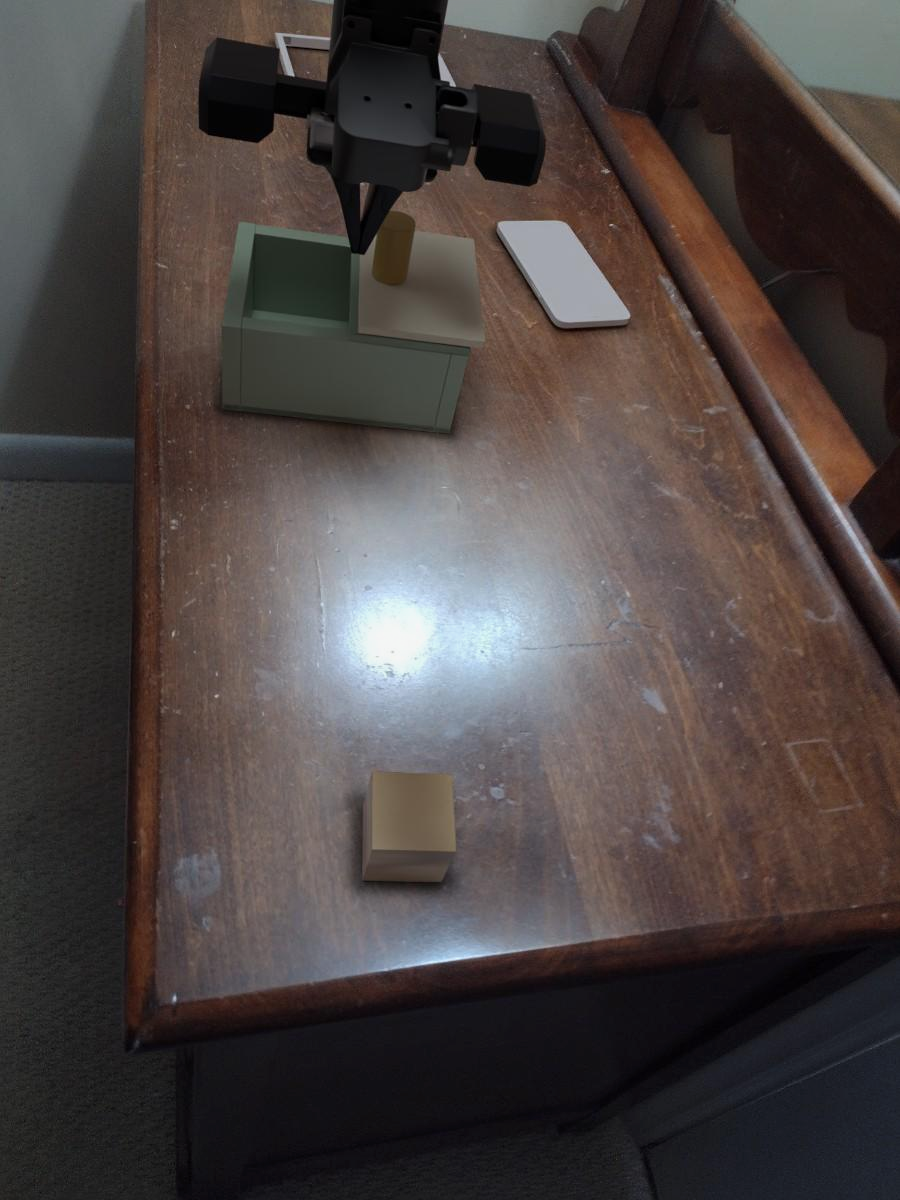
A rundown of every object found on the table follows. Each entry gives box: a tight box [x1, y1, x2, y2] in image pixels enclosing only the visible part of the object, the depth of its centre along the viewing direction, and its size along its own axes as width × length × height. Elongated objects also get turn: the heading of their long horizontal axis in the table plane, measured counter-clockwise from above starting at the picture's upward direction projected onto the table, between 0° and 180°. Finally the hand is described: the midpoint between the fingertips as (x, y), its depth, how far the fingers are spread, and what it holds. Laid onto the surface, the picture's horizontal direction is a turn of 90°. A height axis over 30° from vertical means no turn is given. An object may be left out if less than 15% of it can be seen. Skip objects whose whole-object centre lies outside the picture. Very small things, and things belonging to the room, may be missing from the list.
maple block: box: [361, 770, 458, 883], centre depth 45 cm, size 4×4×4 cm
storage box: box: [221, 221, 472, 435], centre depth 66 cm, size 16×12×8 cm
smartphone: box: [496, 220, 631, 329], centre depth 81 cm, size 7×1×15 cm
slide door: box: [358, 210, 486, 350], centre depth 62 cm, size 8×12×5 cm
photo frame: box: [274, 32, 457, 87], centre depth 97 cm, size 15×1×18 cm
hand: (357, 250), depth 58 cm, fingers closed
